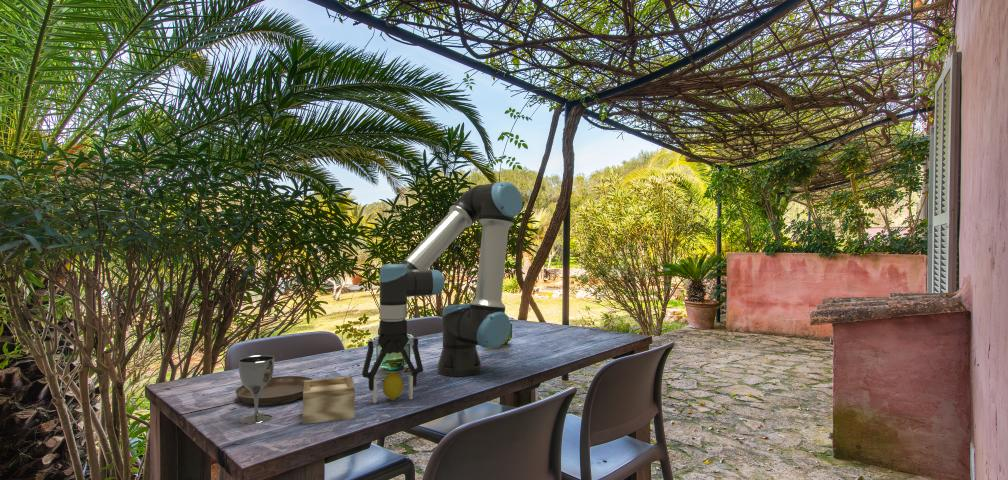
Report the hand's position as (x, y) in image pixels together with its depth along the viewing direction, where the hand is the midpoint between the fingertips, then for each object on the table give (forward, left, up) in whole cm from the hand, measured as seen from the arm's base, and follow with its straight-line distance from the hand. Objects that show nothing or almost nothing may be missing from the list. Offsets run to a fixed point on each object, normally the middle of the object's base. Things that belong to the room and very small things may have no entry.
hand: (392, 399), depth 137 cm
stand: (+17, +5, 0) cm, 18 cm away
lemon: (0, 0, 0) cm, 0 cm away
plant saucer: (+31, -16, -1) cm, 35 cm away
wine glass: (+34, +3, 0) cm, 34 cm away
